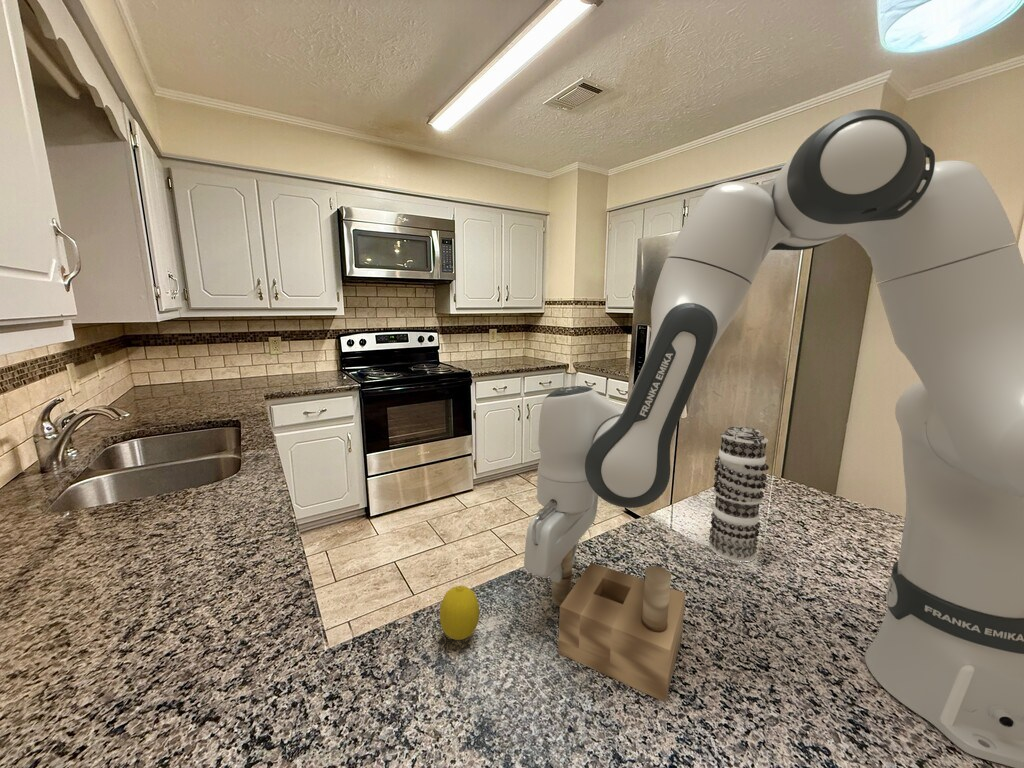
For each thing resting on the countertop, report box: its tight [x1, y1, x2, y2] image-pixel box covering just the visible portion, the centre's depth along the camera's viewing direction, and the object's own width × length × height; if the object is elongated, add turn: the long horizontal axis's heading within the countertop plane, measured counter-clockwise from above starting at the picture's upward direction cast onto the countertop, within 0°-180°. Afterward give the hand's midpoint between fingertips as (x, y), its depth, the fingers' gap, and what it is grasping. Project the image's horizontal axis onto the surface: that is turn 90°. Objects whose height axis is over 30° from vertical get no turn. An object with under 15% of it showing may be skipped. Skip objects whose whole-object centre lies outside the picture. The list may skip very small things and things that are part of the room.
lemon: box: [439, 585, 480, 641], centre depth 57 cm, size 6×6×8 cm
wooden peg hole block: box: [557, 562, 686, 703], centre depth 56 cm, size 14×12×14 cm
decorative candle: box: [708, 426, 770, 563], centre depth 80 cm, size 9×9×25 cm
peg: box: [551, 548, 573, 608], centre depth 65 cm, size 3×3×12 cm
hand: (562, 571), depth 65 cm, fingers closed on peg, 3 cm apart
